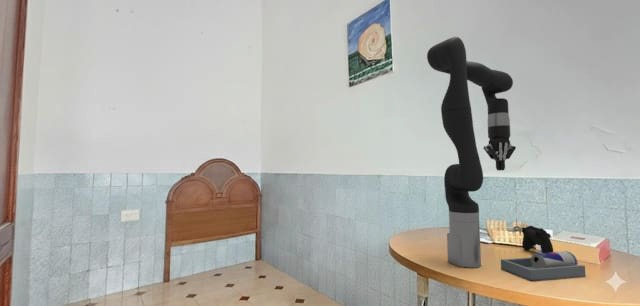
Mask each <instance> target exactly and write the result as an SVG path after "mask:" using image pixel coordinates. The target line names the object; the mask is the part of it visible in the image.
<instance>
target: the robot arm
mask: <svg viewBox="0 0 640 306" xmlns="http://www.w3.org/2000/svg"><path fill="white" fill-rule="evenodd" d="M426 59H427V63H428V65H429V67H431V68H432V70H435V71H436V72H441V73H444V74H448V75H449V82H448V85H447V89H446V92H445V94H444V96H443V99H442V102H441V105H440V111H441V120H442V121H441V122H442V126H443V129H444V131H445V132H446V135H447V137H448V138H449V140H451V142H452V144H453V145H454V147H455V150H456V152H457V158H458V163H453V164H450V165H449V166H448V167H447V168H446V169H445V173H444V180H443V182H444V183H443V184H444V192H445V201H446V204H447V207H448V227H449V229H448V230H449V233H447V234H446V243H447V244H446V246H447V247H446V251H447V263H449V264H452V265H454V266H456V267H458V268H460V267H461V268H479V267H481V266H482V255H481V254H482V252H481V235H480V234H481V229H480V227H481V226H480V208H479V203H478V202H476V201H475V200H473V199H472V198H471V195H470V192H477V191H478V190H480V189H481V187H482V186H483V182H484V172H483V168H482V163H481V160H480V155H479V151H478V147H477V143H476V142H477V141H476V135H475V129H474V121H473V112H472V106H471V100H470V93H469V87H468V81H469V82H471V83H472V84H475V85H477V86H479V87H481V90H482V94H483V96H484V99H485V102H486V105H487V106H486V107H487V137H488V144H487V145H485V146H483V150H484V151H485V152H486V154H487V155H488V157H489V158H490V159H491V160H494V161H495V169H496V170H497V171H505V169H506V160H509V159H510V158H511V157H512V155H513V154H514V152H515V151H516V146H514V145H512V144H511V140H510V138H511V119H510V114H509V102H508V99H507V98H501V97H500V98H498V97H497V95H498V94H501V93H505V92H508V91H509V90H511V89H512V87H513V84H514V82H513V81H514V80H513V78H512V76H511V75H510V74H509V73H508V72H505V71H501V70H498V69H497V70H496V69H491V68H489V67H488V66H486V65H485V64H483V63H480V62H475V61H468V60H467V52H466V47H465V44H464V42H463V40H462V39H461V38H460V37H459V36H452V37H450V38H447V39H445V40H442V41H441V42H439V43H436V44H435V45H432V46H431V47H430V48H429V49H428V51H427V54H426Z"/></svg>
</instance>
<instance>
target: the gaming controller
mask: <svg viewBox="0 0 640 306" xmlns="http://www.w3.org/2000/svg"><path fill="white" fill-rule="evenodd" d="M521 233H522V234H523V238H522V241H521V242H522V243H521V244H522V245H521V246H522V249H523V250H525V252H526V251H530V250H531V249H533V248H534V247H535V246H536V245H537V246H540V251H541V253H549V252H554V247H553V243H552V241H551V239H550V238H551V237H552V236H551V233H549V232H547V231H546V230H545V229H544V228H542V227H541V228H539V227H536V226H534V225H527V226H526V227H523V226H522V227H521Z"/></svg>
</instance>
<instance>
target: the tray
mask: <svg viewBox="0 0 640 306" xmlns="http://www.w3.org/2000/svg"><path fill="white" fill-rule="evenodd" d="M531 257H532V256H531ZM531 257H529V256H528V257H518V258H515V257H514V258H504V259H502V258H501V259H500V269H501V270H502V271H505V272H507V273H510V274H512V275H514V276H517V277H520V278H522V279H525V280H528V281H530V282H540V281H549V280H561V279H573V278H574V277H575V278H584V277H585V278H586V277H587V276H586V266H585V265H583V264H577V265H575V266H562V267H549V268H537V269H534V268H533V266H532V264H531Z"/></svg>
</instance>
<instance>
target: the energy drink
mask: <svg viewBox="0 0 640 306" xmlns="http://www.w3.org/2000/svg"><path fill="white" fill-rule="evenodd" d="M578 263H579V262H578V259H577V257H576V255H575V254H574V253H572V252H570V251H568V250H563V251H553V252H549V253H542V252H540V253H535V254H533V255H532V256H531V264H532V266H533V268H534V269H537V268H549V267H562V266H575V265H579V264H578Z"/></svg>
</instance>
